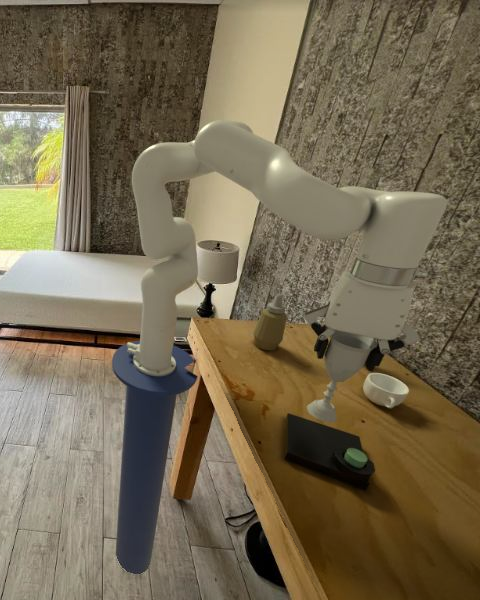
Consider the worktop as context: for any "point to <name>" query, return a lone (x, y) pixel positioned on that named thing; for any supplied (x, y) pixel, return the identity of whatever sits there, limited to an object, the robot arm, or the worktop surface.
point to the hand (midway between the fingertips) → (343, 360)
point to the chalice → (341, 368)
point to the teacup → (385, 390)
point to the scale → (324, 451)
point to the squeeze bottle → (271, 325)
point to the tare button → (355, 457)
